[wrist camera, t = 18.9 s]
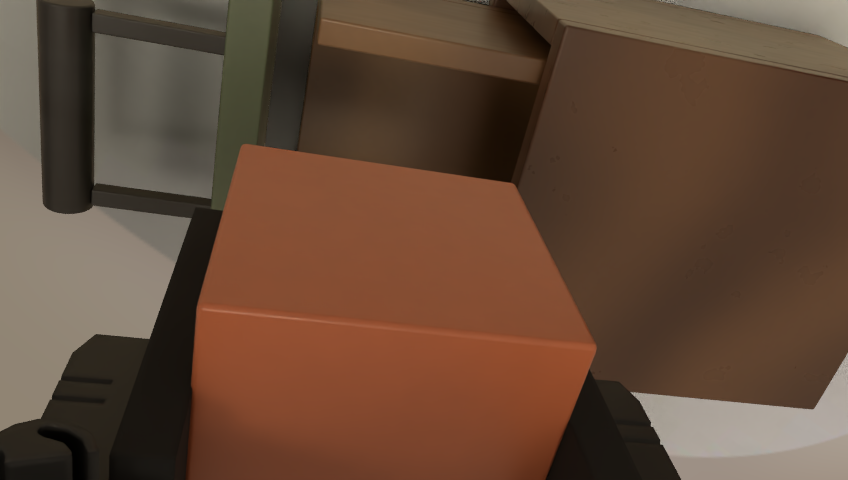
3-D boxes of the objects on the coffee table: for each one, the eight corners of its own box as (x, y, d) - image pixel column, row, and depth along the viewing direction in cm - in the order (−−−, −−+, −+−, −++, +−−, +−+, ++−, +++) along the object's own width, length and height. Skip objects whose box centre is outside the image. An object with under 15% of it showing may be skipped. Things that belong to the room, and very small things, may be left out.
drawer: (84, 195, 31) (15, 301, 24) (83, -101, 25) (-6, -72, 19) (523, 253, 34) (571, 359, 28) (602, 8, 29) (684, 64, 22)
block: (219, 367, 17) (175, 586, 12) (241, 141, 14) (195, 304, 9) (455, 388, 18) (502, 597, 13) (515, 181, 15) (600, 347, 10)
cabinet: (428, 243, 35) (460, 376, 26) (497, -34, 29) (565, 24, 21) (706, 280, 38) (814, 410, 29) (820, 35, 32) (994, 111, 23)
